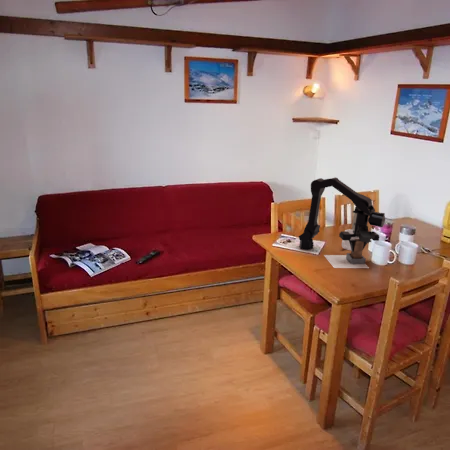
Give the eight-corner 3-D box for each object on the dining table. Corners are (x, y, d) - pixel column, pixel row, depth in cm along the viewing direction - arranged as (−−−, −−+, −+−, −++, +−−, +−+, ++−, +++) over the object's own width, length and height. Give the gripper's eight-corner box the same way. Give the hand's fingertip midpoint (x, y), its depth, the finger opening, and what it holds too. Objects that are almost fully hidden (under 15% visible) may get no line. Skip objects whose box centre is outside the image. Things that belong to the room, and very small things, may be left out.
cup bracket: (351, 264, 203) (352, 258, 202) (345, 258, 210) (346, 253, 209) (364, 264, 203) (365, 258, 202) (359, 258, 210) (360, 253, 209)
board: (333, 269, 198) (334, 267, 198) (323, 256, 213) (323, 255, 213) (369, 269, 200) (369, 268, 199) (356, 257, 215) (356, 255, 214)
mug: (346, 254, 218) (349, 236, 214) (334, 249, 224) (337, 232, 221) (360, 250, 224) (363, 232, 221) (348, 245, 231) (350, 228, 227)
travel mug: (366, 233, 252) (370, 205, 247) (353, 232, 252) (357, 205, 247) (362, 229, 260) (366, 202, 254) (349, 228, 260) (354, 201, 254)
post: (353, 261, 204) (356, 241, 201) (350, 258, 208) (353, 238, 204) (360, 261, 205) (364, 241, 201) (357, 258, 208) (360, 238, 205)
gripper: (349, 227, 191) (344, 258, 196) (387, 228, 193) (381, 258, 198) (340, 220, 202) (336, 249, 207) (376, 221, 204) (371, 249, 209)
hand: (356, 251), depth 205 cm, fingers closed on post, 4 cm apart
